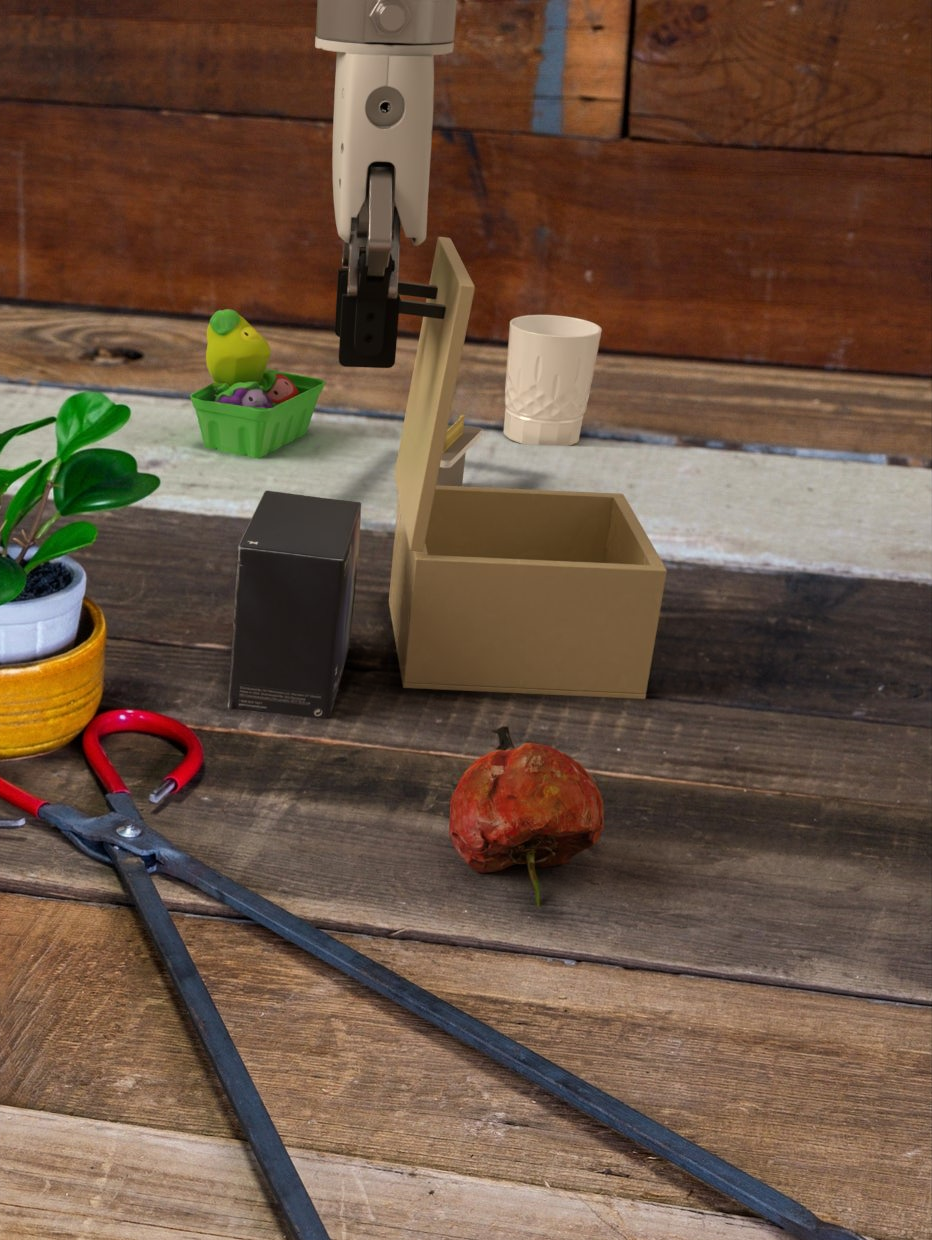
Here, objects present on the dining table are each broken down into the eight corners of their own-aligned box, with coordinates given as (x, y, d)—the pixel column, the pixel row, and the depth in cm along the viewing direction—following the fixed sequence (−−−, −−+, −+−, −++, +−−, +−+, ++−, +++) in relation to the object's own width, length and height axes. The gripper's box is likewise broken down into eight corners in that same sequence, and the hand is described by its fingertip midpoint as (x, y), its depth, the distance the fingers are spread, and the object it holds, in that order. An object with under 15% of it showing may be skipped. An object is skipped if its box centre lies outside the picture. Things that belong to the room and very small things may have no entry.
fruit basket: (263, 470, 139) (271, 334, 134) (172, 451, 143) (175, 318, 138) (325, 437, 148) (333, 308, 143) (237, 419, 152) (242, 293, 146)
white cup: (528, 454, 146) (543, 339, 141) (479, 428, 152) (492, 317, 147) (603, 445, 149) (620, 333, 144) (552, 420, 155) (567, 312, 150)
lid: (450, 238, 103) (368, 226, 102) (475, 286, 90) (381, 273, 90) (405, 477, 109) (328, 467, 109) (423, 552, 97) (335, 541, 97)
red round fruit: (605, 937, 83) (582, 753, 87) (626, 886, 76) (600, 690, 81) (453, 944, 83) (438, 760, 88) (461, 893, 77) (444, 698, 81)
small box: (335, 728, 97) (348, 558, 92) (224, 716, 98) (231, 547, 93) (353, 654, 106) (366, 497, 102) (251, 644, 107) (260, 487, 103)
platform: (328, 523, 128) (334, 440, 125) (398, 459, 143) (405, 383, 140) (481, 550, 124) (491, 465, 121) (537, 481, 139) (547, 404, 136)
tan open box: (604, 617, 113) (623, 493, 110) (644, 706, 101) (667, 570, 97) (388, 607, 114) (399, 483, 110) (402, 695, 102) (415, 558, 98)
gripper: (471, 36, 83) (440, 393, 91) (440, 12, 99) (416, 319, 107) (320, 31, 83) (301, 388, 91) (313, 8, 99) (297, 315, 107)
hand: (363, 348), depth 99 cm, fingers closed on lid, 6 cm apart
